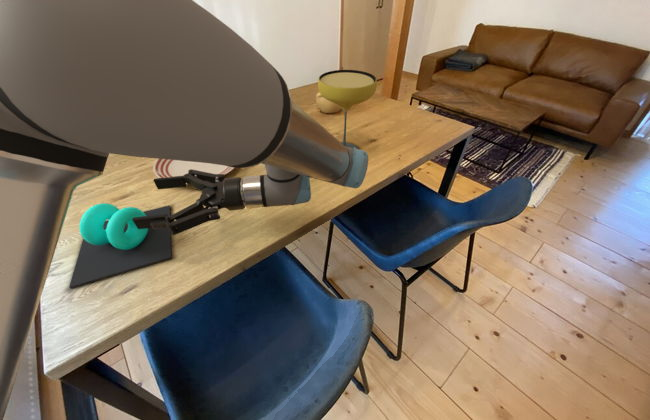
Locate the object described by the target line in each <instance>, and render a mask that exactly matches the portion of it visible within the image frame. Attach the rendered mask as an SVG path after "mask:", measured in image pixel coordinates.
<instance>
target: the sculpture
mask: <svg viewBox="0 0 650 420" xmlns="http://www.w3.org/2000/svg"><path fill="white" fill-rule="evenodd" d="M315 99H316V104H317V106H318V108H319V110H320V111H321V112H323V113H324V114H325V113H326V114H334V113H338V112H340V111H341V110H342V108H341V107H340V106H339V105H338V104H335V103H333V102H331V101H329V100H327V99H325V98H324V97H323V96H322V95H321V94H320V92H319V91H318V92H317V93H316V95H315Z"/></svg>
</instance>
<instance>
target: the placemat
mask: <svg viewBox="0 0 650 420" xmlns="http://www.w3.org/2000/svg"><path fill="white" fill-rule="evenodd" d="M143 212H144V213H145V215H146V216H153V215H163V214H167V215H168V217H169V216H171V215H172V214H171V205H165V206H161V207H158V208H154V209H149V210H145V211H143ZM108 222H109V220H108V219H107V220H106V221H105V222H104V225H103V228H104V230H106V229H107V224H108ZM127 229H128V223H126V225H125V227H124V233H125V232H126V231H127ZM168 260H172V234H171V232H170V230H169V228H161V229H153V228H148V232H147V235H146V237H145V238H144V240H143V241H142V242H141V243H140V244H139V245H138V246H136V247H134V248H132V249H128V250H122V249H118V248H116V247H114V246H113V245H112V244H111V243H108V244H105V245H93V244H90V243H88V242H87V241H86V240H84V238H83V237H82V242H81V246H80V249H79V252H78V255H77V258H76V262H75V265H74V269H73V272H72V275H71V279H70V283H69V286H68V287H69V289H75V288H78V287H81V286H84V285H87V284H92V283H94V282H98V281H101V280H105V279H108V278H112V277H114V276H118V275H121V274H124V273H127V272H132V271H135V270H138V269H141V268H145V267H148V266H151V265H155V264H159V263H161V262H165V261H168Z"/></svg>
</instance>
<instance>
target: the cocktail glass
mask: <svg viewBox="0 0 650 420" xmlns="http://www.w3.org/2000/svg"><path fill="white" fill-rule="evenodd" d="M377 86H378V81H377V76H375V75H374V74H372V73H370V72H367V71H363V70H356V69H336V70H331V71H330V70H329V71H327V72H324V73H322V74H320V75H319V77H318V80H317V88H318V92H320V94H321V95H322V96H323V97H324V98H325V99H327V100H329V101H331V102H333V103H335V104H338V105H339V106H340V107H341V110H342V111H343V112H344V120H343V121H344V125H343V139H342V142H341V143H342V144H343V145H344V146H347V147H351V148H353V147H355V148H356V149H359V147H358V146H357V145H355V144H353V143H350V142H347V140H346V139H347V118H348V117H347V115H348V111H350V110H351V108H352V107H354V106H355V105H358V104H361V103H364V102H366V101H368V100H369V99H371V98H372V97H373V96H374V95H375V94H376V90H377Z"/></svg>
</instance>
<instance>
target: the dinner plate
mask: <svg viewBox="0 0 650 420" xmlns="http://www.w3.org/2000/svg"><path fill="white" fill-rule="evenodd" d="M152 168H153V169H152V171H153V173H154V175H155V177H156V178H167V177H174V176H184V175H185V174H188V173H189V172H188V171H189V170H191V169H192V170H197V171H202V172H207V173H212V174H224V175H225V176H226V175H227V174H229V173H230V172H232V171H233V170H234V169H235V168H234V167H229V166H224V165H218V164H211V163H202V162H191V161H180V160H169V159H157V158H156V159H155V161H154V163H153V166H152ZM195 176H196V175H195ZM186 185H187V183H186Z"/></svg>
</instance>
